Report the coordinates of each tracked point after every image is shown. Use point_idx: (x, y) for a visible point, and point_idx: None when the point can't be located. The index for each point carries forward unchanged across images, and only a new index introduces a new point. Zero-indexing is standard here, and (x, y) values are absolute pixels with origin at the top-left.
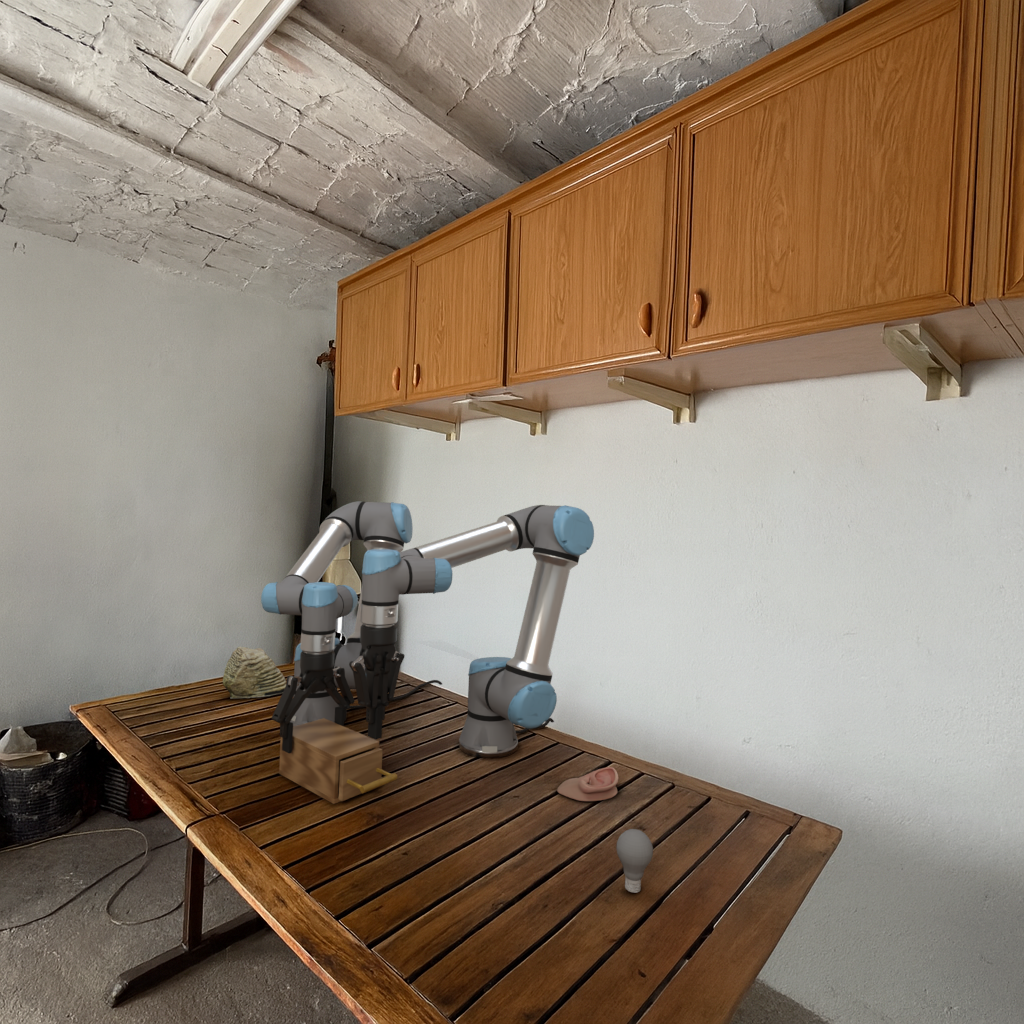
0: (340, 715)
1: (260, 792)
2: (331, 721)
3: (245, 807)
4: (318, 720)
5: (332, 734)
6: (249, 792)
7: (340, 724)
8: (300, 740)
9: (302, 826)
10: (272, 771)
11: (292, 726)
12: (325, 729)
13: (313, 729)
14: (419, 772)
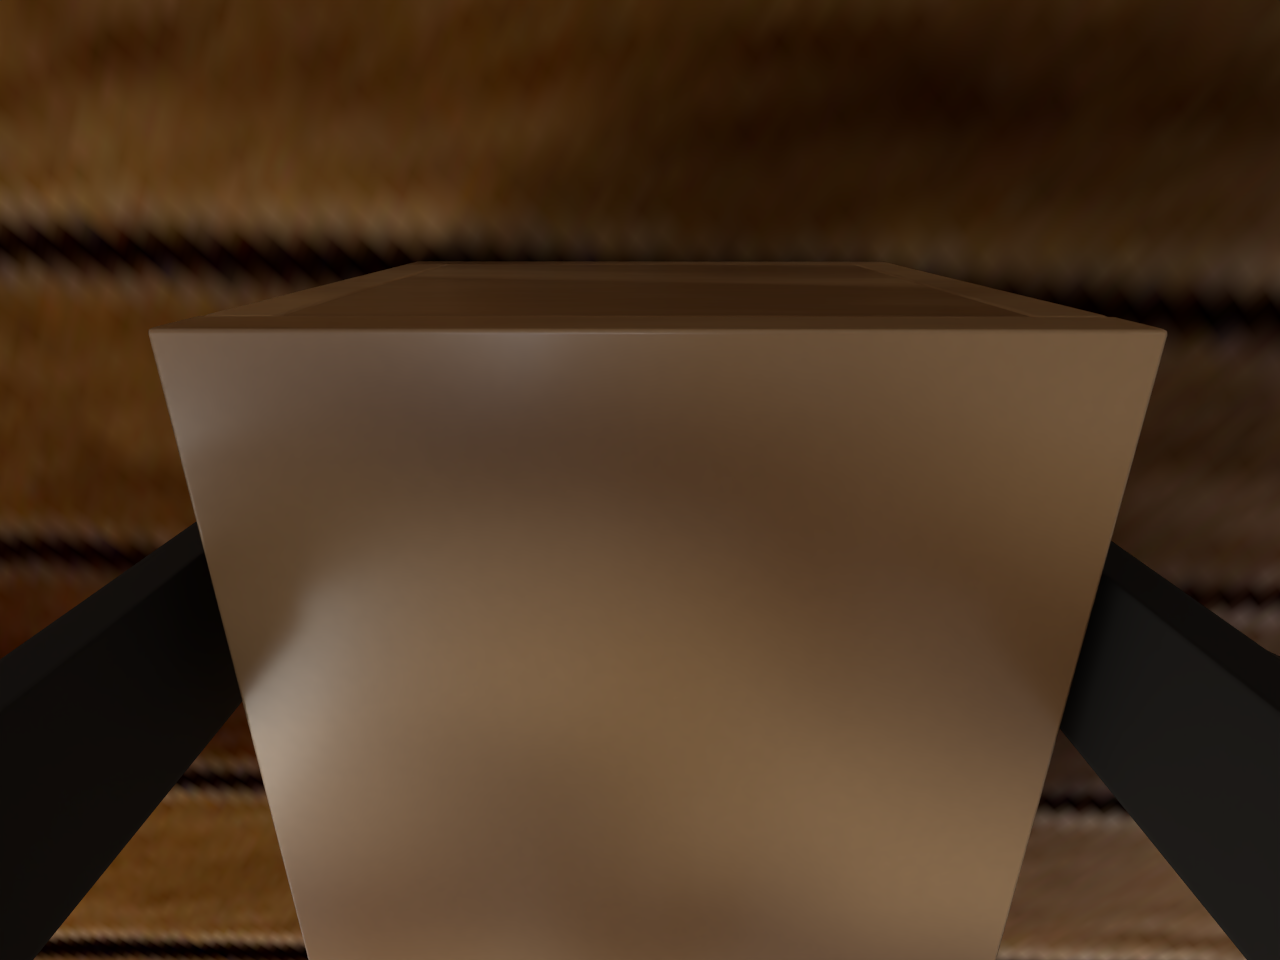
0: (1195, 857)
1: (167, 462)
2: (1092, 583)
3: (16, 583)
4: (992, 376)
5: (707, 952)
6: (93, 404)
7: (1087, 734)
8: (282, 840)
9: (241, 929)
10: (393, 162)
11: (36, 941)
12: (762, 782)
13: (631, 674)
14: (1123, 903)
